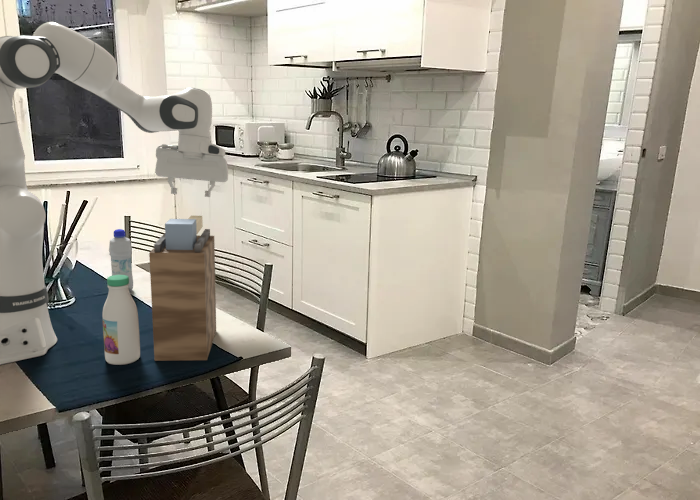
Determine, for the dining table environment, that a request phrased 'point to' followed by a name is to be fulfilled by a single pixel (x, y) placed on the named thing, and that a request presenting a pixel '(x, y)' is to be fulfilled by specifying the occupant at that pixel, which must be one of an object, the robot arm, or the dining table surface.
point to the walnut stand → (183, 299)
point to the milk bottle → (120, 323)
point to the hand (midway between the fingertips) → (190, 195)
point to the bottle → (121, 256)
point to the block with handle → (182, 233)
